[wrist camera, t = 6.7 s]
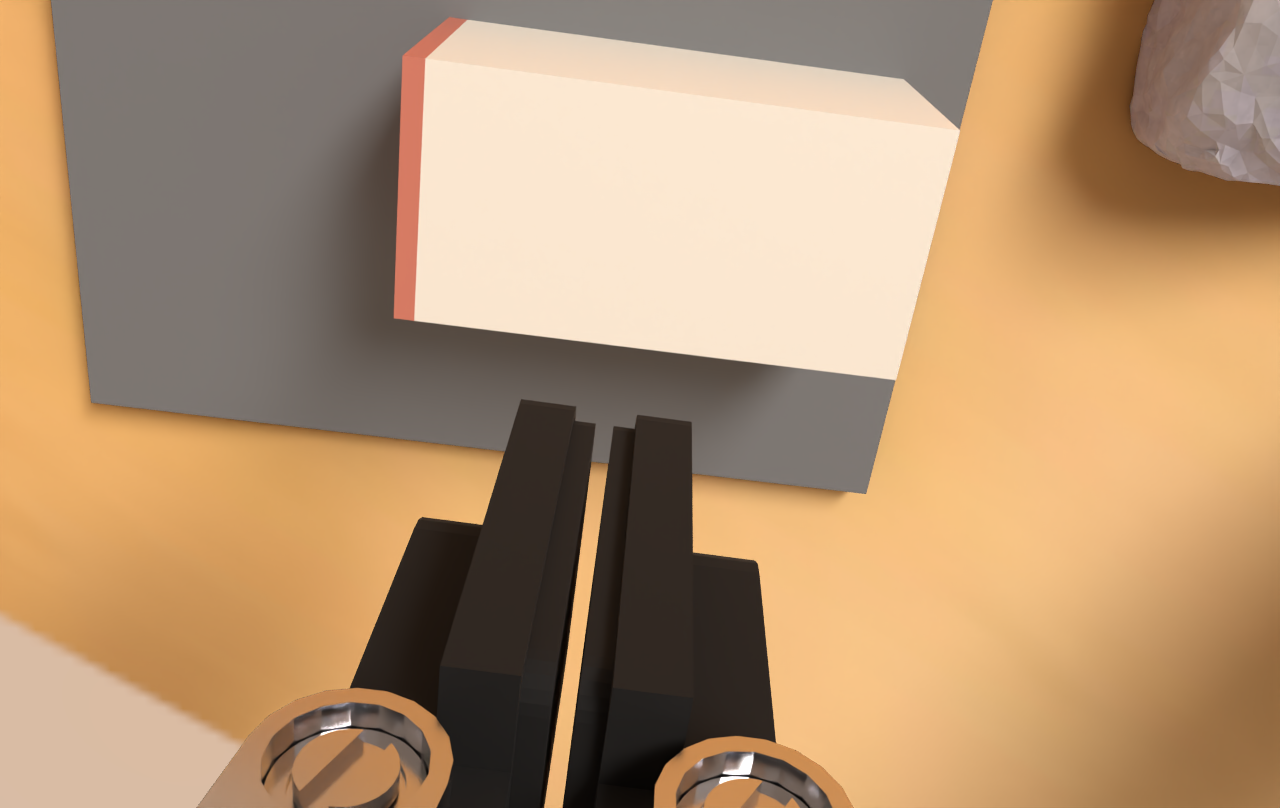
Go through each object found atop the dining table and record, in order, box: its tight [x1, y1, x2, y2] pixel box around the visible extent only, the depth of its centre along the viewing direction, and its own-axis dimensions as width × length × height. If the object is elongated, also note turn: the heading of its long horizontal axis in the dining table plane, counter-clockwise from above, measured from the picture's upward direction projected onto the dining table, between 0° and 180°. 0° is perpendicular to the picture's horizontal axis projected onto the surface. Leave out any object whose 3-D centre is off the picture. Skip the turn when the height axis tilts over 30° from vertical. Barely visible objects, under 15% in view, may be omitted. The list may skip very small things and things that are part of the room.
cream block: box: [394, 17, 960, 380], centre depth 23 cm, size 5×5×10 cm
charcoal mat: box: [51, 0, 993, 494], centre depth 26 cm, size 20×16×1 cm
